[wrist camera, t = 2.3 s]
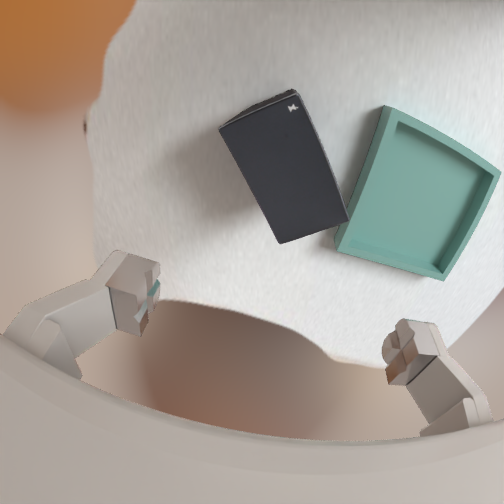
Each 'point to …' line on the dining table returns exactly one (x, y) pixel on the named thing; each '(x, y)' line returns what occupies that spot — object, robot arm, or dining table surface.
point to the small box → (286, 167)
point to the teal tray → (415, 198)
